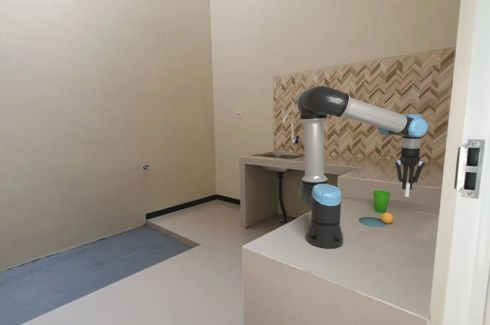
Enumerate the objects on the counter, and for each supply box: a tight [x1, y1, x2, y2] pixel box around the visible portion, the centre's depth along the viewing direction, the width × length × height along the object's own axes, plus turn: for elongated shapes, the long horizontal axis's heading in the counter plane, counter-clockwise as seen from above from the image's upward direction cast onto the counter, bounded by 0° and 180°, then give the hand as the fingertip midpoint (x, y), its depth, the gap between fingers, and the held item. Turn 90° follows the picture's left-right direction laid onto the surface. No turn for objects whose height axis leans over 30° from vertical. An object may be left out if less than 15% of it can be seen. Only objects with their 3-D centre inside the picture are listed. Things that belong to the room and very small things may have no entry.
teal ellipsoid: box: [358, 216, 388, 228], centre depth 138 cm, size 13×13×1 cm
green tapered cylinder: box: [372, 190, 392, 214], centre depth 152 cm, size 9×9×11 cm
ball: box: [380, 212, 394, 225], centre depth 136 cm, size 6×6×6 cm
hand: (406, 196), depth 132 cm, fingers closed
